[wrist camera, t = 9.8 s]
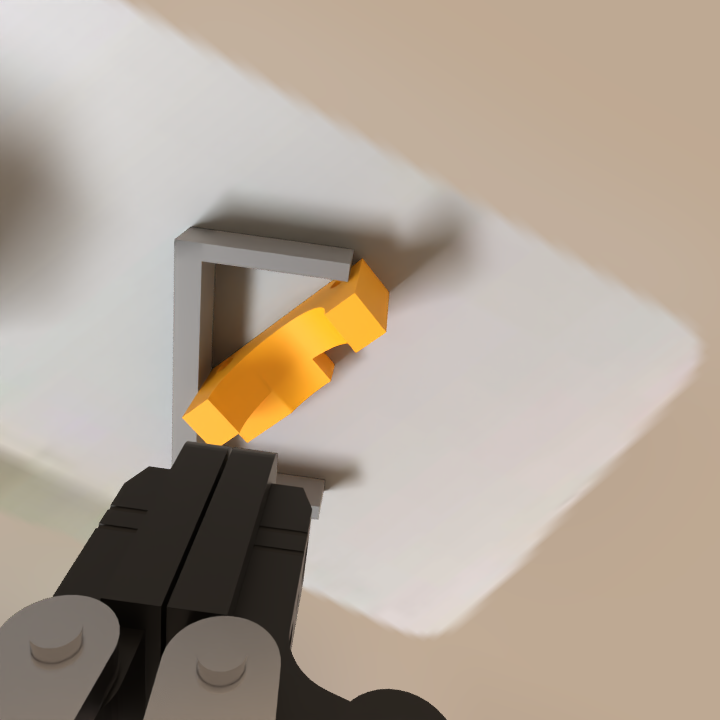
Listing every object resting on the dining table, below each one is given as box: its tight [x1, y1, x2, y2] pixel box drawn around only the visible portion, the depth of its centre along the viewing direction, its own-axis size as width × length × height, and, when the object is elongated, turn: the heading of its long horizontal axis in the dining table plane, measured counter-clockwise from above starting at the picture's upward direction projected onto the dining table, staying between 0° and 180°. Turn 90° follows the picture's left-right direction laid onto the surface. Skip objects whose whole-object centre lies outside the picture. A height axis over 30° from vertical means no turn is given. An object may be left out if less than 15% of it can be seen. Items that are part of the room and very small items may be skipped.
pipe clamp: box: [182, 258, 389, 446], centre depth 38 cm, size 12×4×6 cm, turn 128°
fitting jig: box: [172, 227, 354, 519], centre depth 41 cm, size 10×17×3 cm, turn 173°
